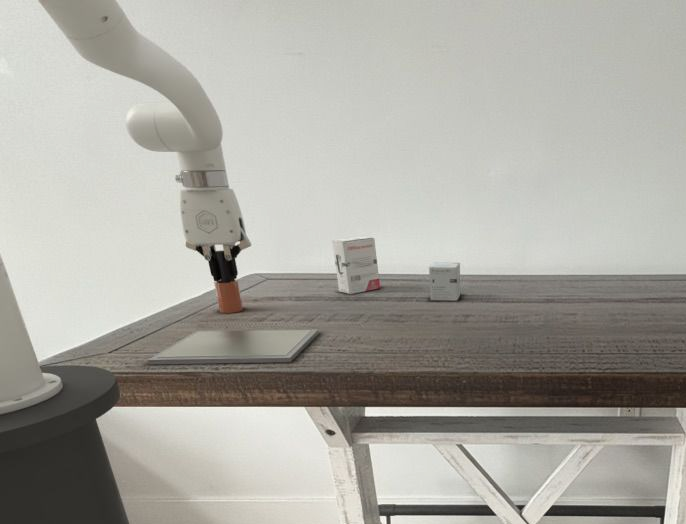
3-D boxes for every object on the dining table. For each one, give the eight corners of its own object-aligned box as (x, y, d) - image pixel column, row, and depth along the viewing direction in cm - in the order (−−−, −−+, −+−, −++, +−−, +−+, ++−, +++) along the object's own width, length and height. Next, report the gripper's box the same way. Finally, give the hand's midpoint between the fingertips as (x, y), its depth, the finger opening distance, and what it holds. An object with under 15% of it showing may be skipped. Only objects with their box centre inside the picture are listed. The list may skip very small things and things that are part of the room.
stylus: (233, 307, 112) (222, 251, 108) (224, 307, 112) (213, 251, 108) (237, 305, 114) (226, 250, 110) (228, 305, 114) (217, 250, 109)
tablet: (290, 362, 84) (289, 356, 83) (149, 364, 83) (147, 358, 83) (318, 333, 98) (318, 328, 97) (197, 335, 97) (196, 330, 97)
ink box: (368, 285, 135) (363, 235, 130) (380, 288, 132) (376, 237, 127) (337, 291, 129) (330, 239, 124) (349, 294, 126) (343, 241, 121)
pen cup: (238, 313, 111) (232, 283, 109) (216, 313, 111) (210, 283, 109) (246, 307, 115) (241, 279, 113) (225, 308, 115) (219, 279, 113)
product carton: (430, 300, 120) (428, 266, 117) (434, 294, 126) (432, 261, 123) (458, 301, 120) (456, 266, 117) (461, 294, 126) (460, 261, 123)
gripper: (151, 182, 100) (175, 284, 107) (240, 182, 100) (258, 283, 108) (173, 181, 107) (194, 276, 114) (256, 180, 107) (272, 275, 114)
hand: (225, 279), depth 111 cm, fingers closed on stylus, 2 cm apart
